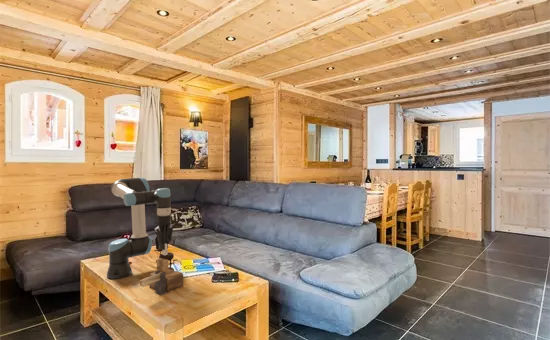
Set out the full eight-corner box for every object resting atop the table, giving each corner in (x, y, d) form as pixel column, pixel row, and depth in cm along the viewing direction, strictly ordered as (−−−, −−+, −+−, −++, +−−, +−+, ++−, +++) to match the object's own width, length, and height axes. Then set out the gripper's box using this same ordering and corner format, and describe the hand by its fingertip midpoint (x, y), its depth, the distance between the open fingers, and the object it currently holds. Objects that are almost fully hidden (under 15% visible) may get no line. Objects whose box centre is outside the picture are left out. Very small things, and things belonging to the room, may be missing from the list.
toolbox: (144, 289, 186) (143, 269, 186) (165, 280, 199) (165, 261, 199) (162, 295, 178) (162, 273, 177) (183, 285, 191) (182, 265, 191)
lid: (149, 275, 189) (149, 260, 189) (164, 270, 199) (164, 255, 198) (168, 280, 181) (167, 265, 181) (182, 274, 191) (182, 259, 190)
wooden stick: (140, 285, 171) (140, 280, 171) (161, 277, 183) (161, 272, 183) (143, 286, 169) (143, 281, 169) (164, 278, 181) (164, 272, 181)
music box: (157, 279, 201) (156, 248, 202) (153, 276, 210) (151, 246, 211) (181, 274, 210) (179, 244, 210) (176, 271, 219) (174, 242, 220)
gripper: (159, 217, 175) (160, 258, 176) (177, 213, 186) (178, 252, 187) (150, 216, 179) (151, 256, 180) (168, 212, 190) (169, 250, 191)
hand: (165, 254), depth 184 cm, fingers closed
